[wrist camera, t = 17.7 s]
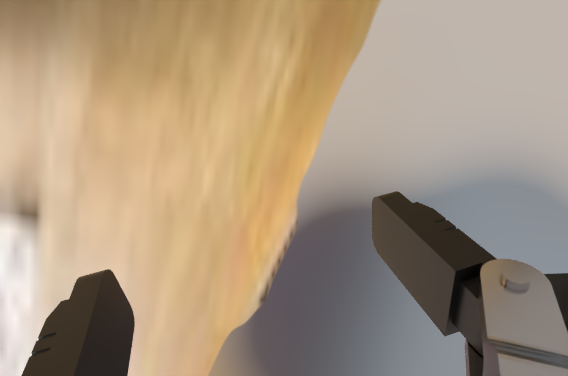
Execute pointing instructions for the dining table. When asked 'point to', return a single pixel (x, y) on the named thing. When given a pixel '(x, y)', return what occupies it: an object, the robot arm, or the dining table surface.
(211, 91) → the dining table surface
